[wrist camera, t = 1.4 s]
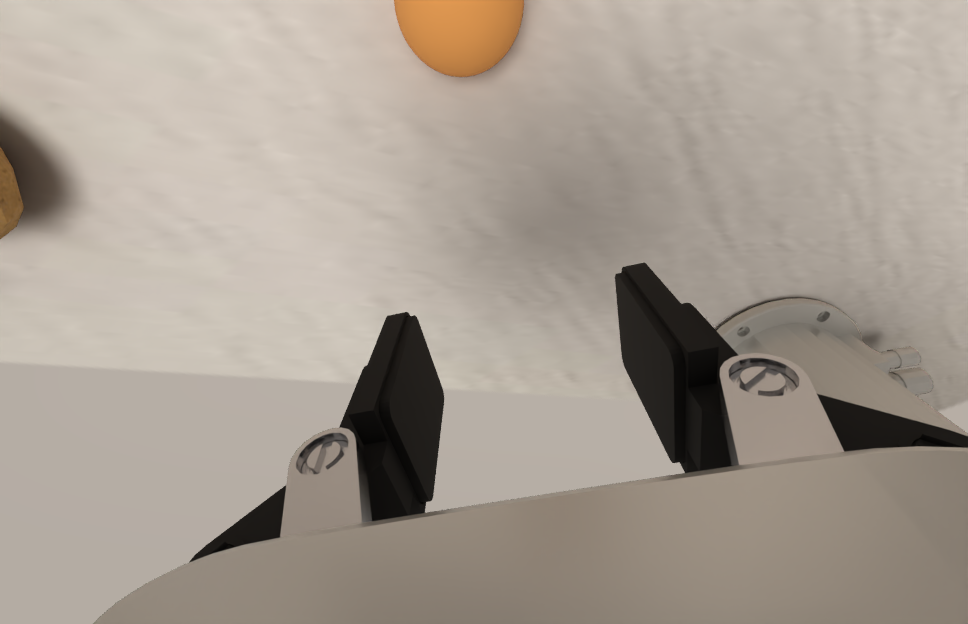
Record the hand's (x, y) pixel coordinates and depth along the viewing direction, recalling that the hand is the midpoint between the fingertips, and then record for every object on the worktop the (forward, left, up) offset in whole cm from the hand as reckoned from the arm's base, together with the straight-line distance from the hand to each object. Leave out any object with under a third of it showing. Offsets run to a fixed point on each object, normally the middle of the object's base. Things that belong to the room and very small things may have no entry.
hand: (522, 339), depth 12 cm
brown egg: (0, -10, -14) cm, 17 cm away
